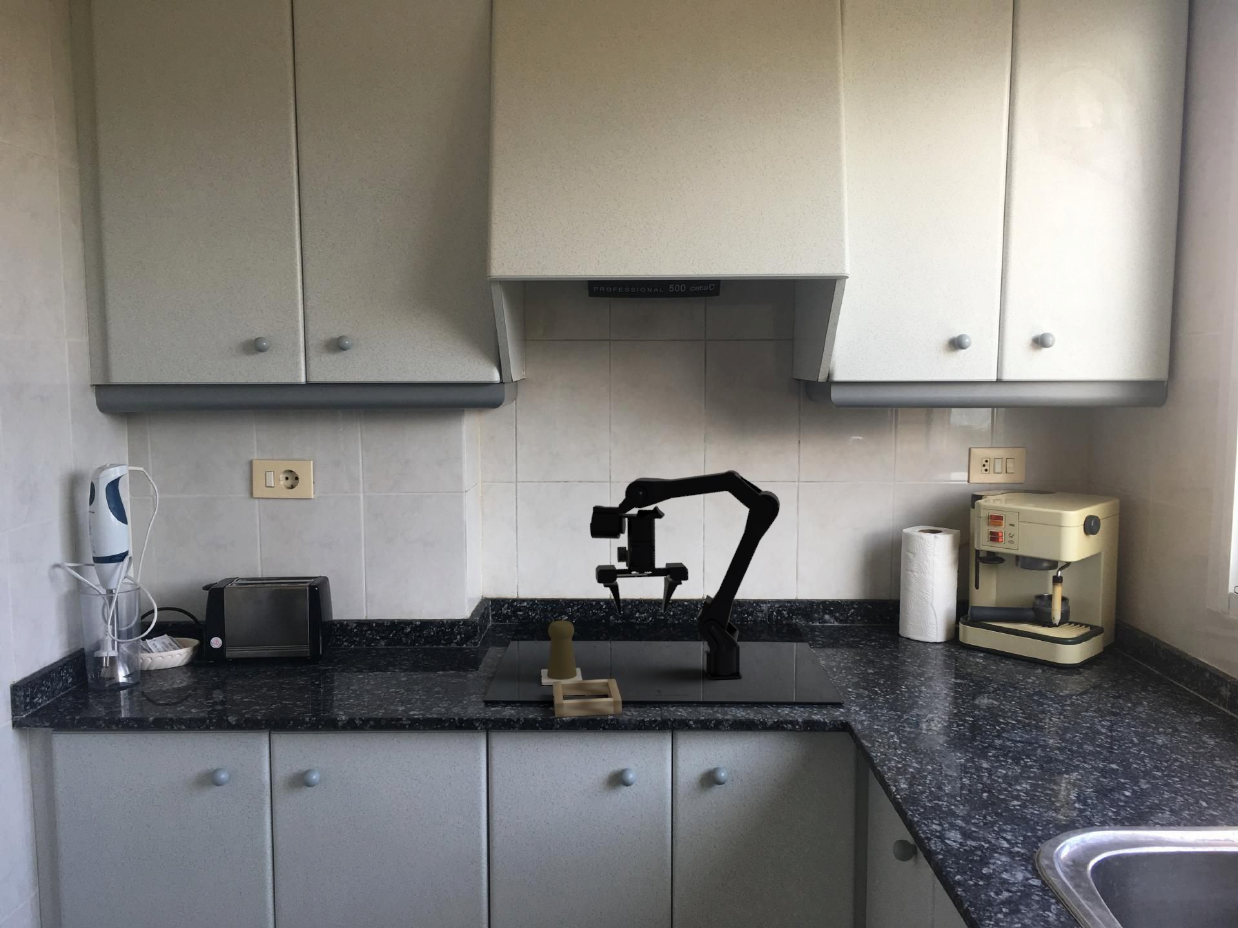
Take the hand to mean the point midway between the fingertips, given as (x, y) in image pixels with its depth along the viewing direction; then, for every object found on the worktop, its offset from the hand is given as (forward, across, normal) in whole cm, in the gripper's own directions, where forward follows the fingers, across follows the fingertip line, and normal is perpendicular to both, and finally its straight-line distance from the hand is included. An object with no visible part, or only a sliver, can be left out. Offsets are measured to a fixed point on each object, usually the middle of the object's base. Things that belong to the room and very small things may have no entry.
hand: (641, 613), depth 186 cm
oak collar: (+12, +13, +18) cm, 25 cm away
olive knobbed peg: (+11, +17, +3) cm, 21 cm away
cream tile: (+12, +17, +3) cm, 21 cm away
